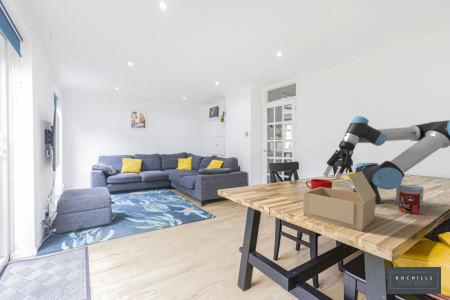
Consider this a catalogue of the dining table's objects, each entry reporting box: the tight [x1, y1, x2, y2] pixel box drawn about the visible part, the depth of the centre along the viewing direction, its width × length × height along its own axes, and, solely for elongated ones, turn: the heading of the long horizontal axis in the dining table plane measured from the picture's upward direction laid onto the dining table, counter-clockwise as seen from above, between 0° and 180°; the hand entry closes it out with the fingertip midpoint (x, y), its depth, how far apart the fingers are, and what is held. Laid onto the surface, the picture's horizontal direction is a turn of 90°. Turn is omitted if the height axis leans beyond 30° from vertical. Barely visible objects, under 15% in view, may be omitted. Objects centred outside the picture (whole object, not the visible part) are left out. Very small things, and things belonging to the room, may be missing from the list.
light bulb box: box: [395, 184, 424, 206], centre depth 123 cm, size 11×7×11 cm, turn 84°
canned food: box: [398, 189, 421, 215], centre depth 107 cm, size 8×8×11 cm
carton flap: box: [347, 171, 376, 204], centre depth 90 cm, size 12×19×1 cm
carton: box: [302, 187, 376, 232], centre depth 97 cm, size 24×21×11 cm
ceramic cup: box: [305, 178, 333, 190], centre depth 140 cm, size 13×17×10 cm
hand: (330, 177), depth 115 cm, fingers open, 13 cm apart
